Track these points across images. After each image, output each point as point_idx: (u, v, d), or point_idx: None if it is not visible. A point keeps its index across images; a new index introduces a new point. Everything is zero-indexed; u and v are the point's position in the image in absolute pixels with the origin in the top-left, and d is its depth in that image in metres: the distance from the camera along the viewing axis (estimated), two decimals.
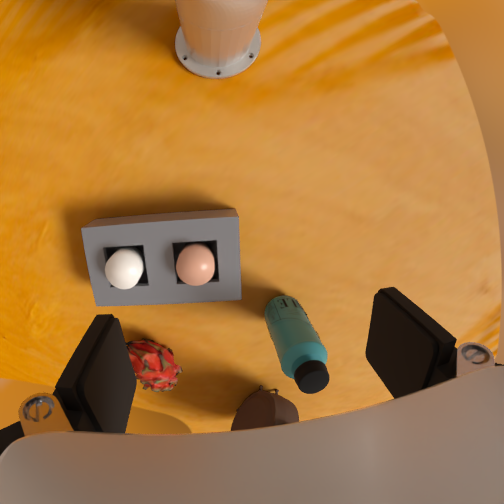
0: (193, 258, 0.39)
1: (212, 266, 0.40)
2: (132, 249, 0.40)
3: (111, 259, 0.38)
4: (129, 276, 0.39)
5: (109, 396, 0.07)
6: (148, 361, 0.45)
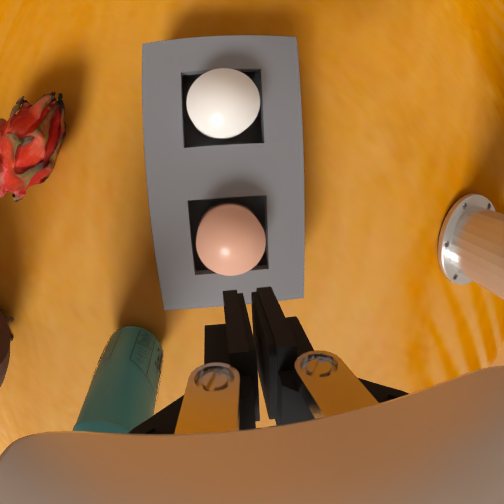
0: (249, 240, 0.22)
1: (234, 272, 0.23)
2: None
3: (249, 84, 0.19)
4: (214, 116, 0.19)
5: None
6: (30, 145, 0.19)
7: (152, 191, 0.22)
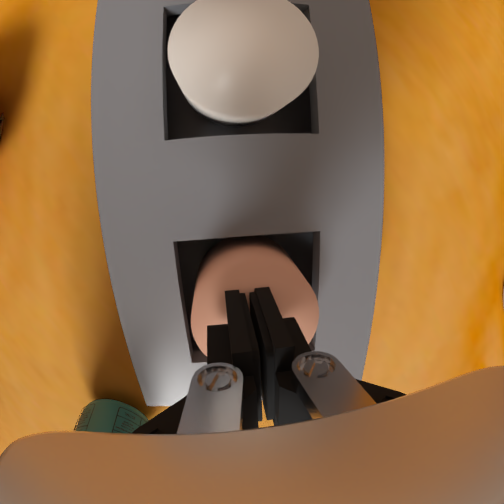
0: None
1: None
2: None
3: (297, 17, 0.08)
4: (225, 72, 0.08)
5: None
6: None
7: (108, 224, 0.11)
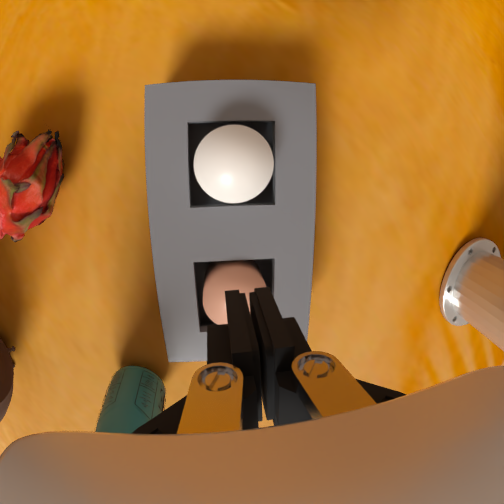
0: None
1: None
2: None
3: (263, 144, 0.18)
4: (223, 179, 0.19)
5: None
6: (27, 191, 0.19)
7: (157, 251, 0.22)
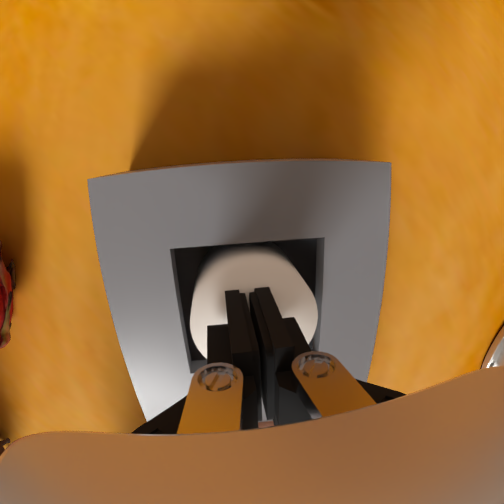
0: None
1: None
2: None
3: (303, 291, 0.11)
4: None
5: None
6: None
7: (151, 416, 0.14)
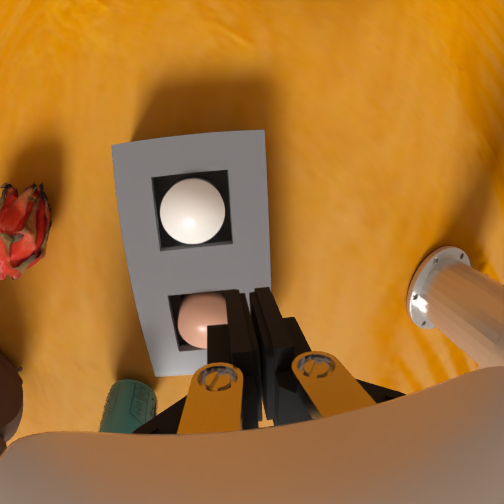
0: (220, 323, 0.27)
1: None
2: None
3: (215, 194, 0.23)
4: (185, 226, 0.23)
5: None
6: (21, 241, 0.22)
7: (136, 288, 0.25)
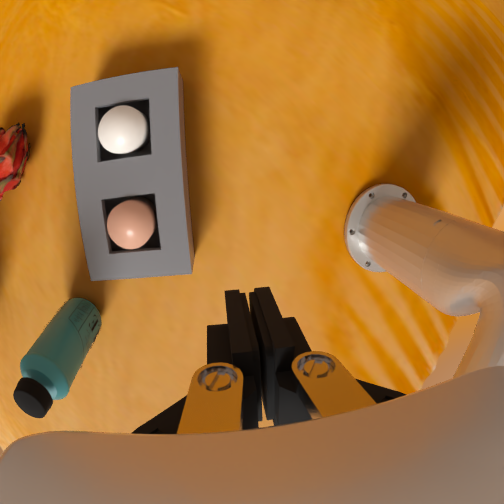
0: (140, 224, 0.30)
1: (132, 246, 0.31)
2: (147, 138, 0.30)
3: (137, 114, 0.27)
4: (114, 139, 0.27)
5: None
6: (3, 163, 0.26)
7: (78, 194, 0.29)
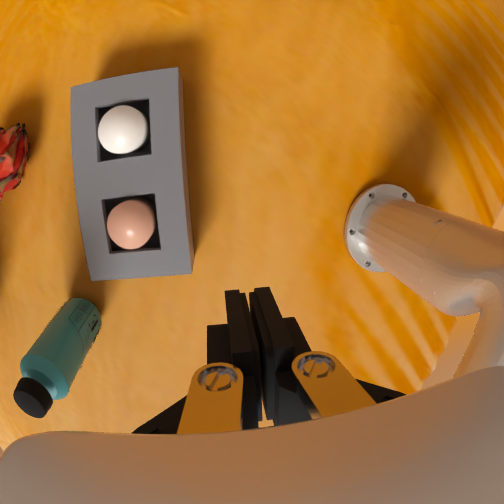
0: (140, 224, 0.30)
1: (132, 246, 0.31)
2: (147, 138, 0.30)
3: (137, 114, 0.27)
4: (114, 139, 0.27)
5: None
6: (3, 163, 0.26)
7: (78, 194, 0.29)
